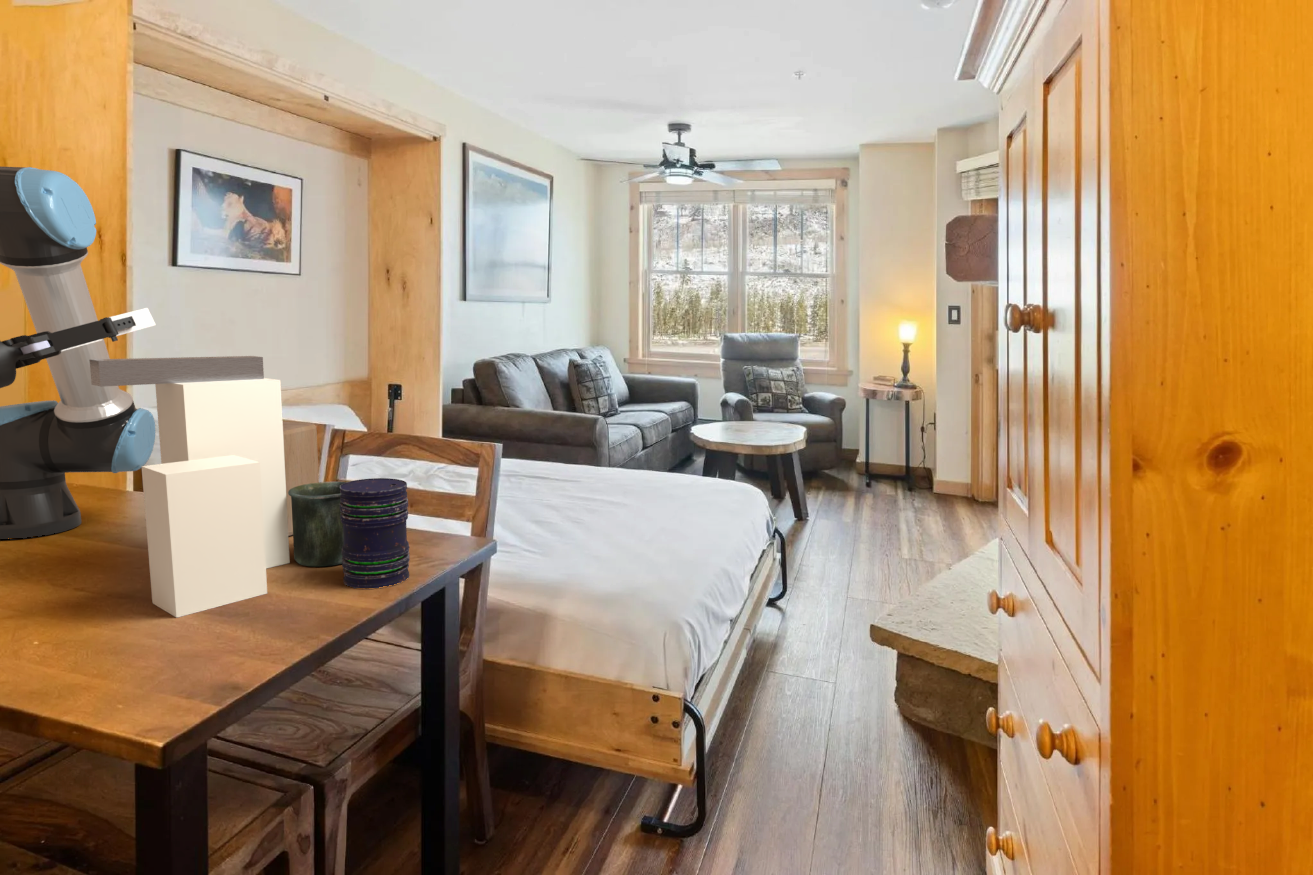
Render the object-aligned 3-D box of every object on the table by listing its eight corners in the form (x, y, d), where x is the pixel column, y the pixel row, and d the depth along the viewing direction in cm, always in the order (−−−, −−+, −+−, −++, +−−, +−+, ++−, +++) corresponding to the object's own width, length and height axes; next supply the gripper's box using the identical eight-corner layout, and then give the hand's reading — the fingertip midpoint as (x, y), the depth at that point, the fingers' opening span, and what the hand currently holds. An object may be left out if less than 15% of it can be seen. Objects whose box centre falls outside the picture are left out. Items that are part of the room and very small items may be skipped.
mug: (276, 561, 125) (272, 490, 123) (349, 540, 137) (346, 475, 136) (321, 573, 120) (318, 499, 118) (392, 549, 132) (390, 482, 131)
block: (288, 538, 137) (282, 429, 134) (240, 534, 139) (233, 426, 136) (323, 524, 147) (318, 422, 144) (277, 520, 149) (272, 419, 146)
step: (152, 603, 106) (141, 466, 103) (241, 581, 115) (233, 455, 112) (176, 617, 101) (165, 474, 98) (267, 593, 110) (259, 462, 107)
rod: (91, 384, 105) (89, 359, 105) (253, 377, 123) (252, 355, 122) (100, 386, 103) (98, 360, 103) (263, 379, 121) (262, 357, 120)
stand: (169, 570, 119) (155, 380, 114) (260, 550, 130) (250, 376, 125) (197, 585, 113) (183, 384, 108) (289, 562, 124) (280, 380, 120)
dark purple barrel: (335, 590, 112) (331, 492, 110) (350, 569, 122) (346, 478, 120) (405, 588, 114) (402, 491, 112) (414, 567, 124) (412, 477, 121)
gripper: (-68, 406, 103) (87, 360, 122) (32, 380, 93) (185, 334, 111) (-99, 354, 101) (64, 315, 119) (0, 321, 91) (162, 284, 109)
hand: (123, 324), depth 115 cm, fingers open, 13 cm apart
